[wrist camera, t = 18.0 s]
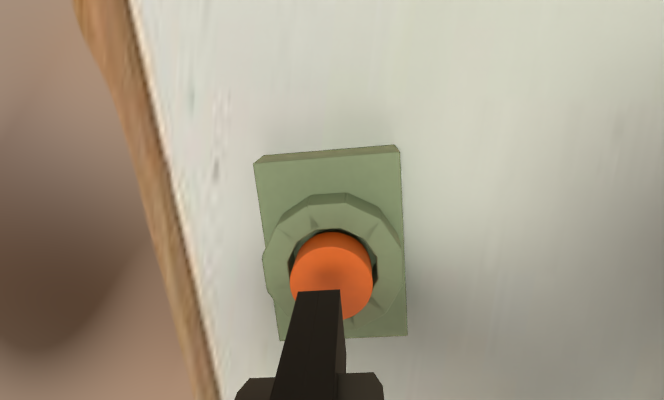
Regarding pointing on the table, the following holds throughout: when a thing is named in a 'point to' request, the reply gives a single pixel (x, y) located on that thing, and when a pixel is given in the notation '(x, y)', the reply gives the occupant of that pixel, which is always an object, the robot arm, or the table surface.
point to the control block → (336, 225)
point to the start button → (334, 270)
